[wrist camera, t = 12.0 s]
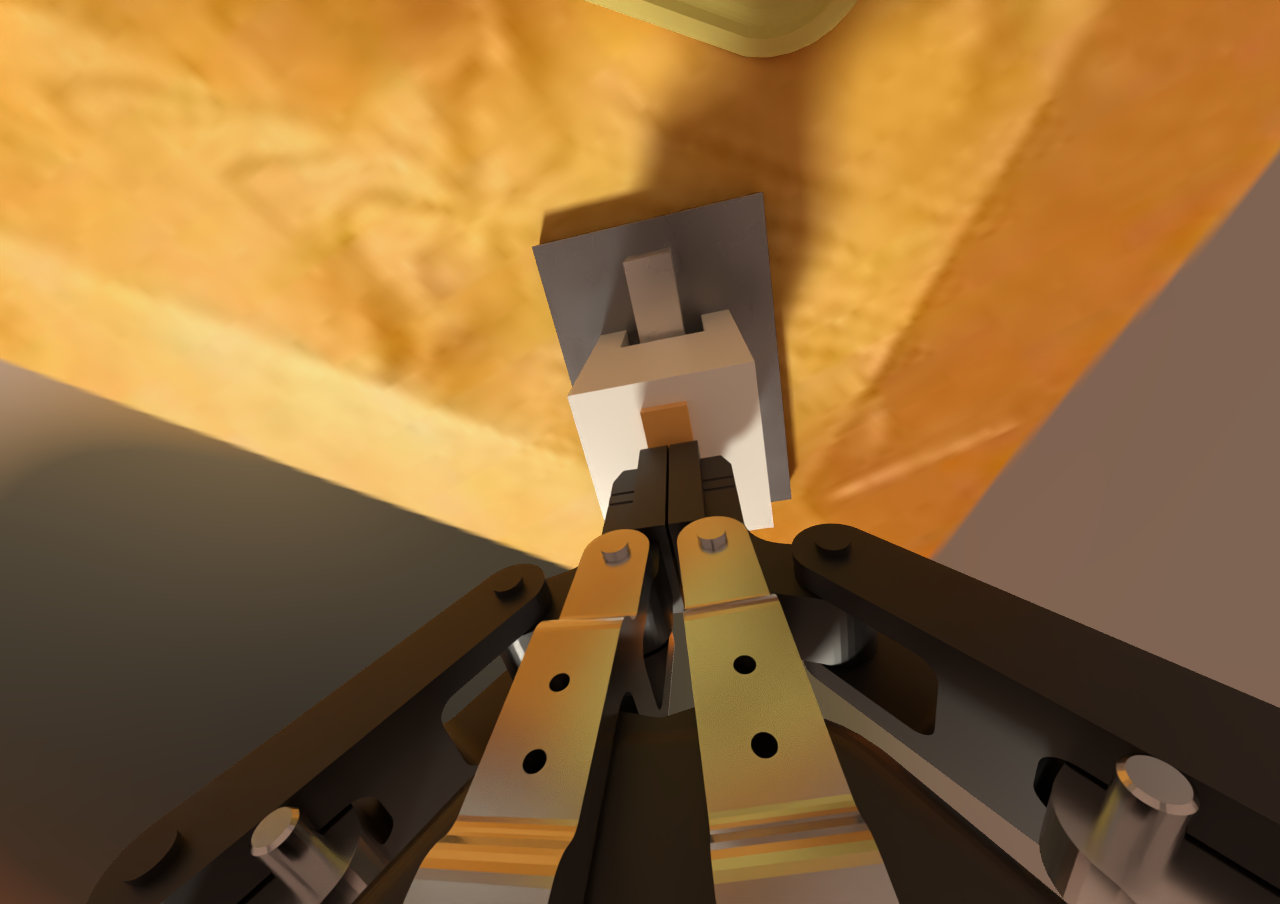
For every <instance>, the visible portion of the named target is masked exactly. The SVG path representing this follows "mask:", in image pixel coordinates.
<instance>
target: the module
mask: <svg viewBox="0 0 1280 904" xmlns="http://www.w3.org/2000/svg"><path fill="white" fill-rule="evenodd" d="M701 318H702V324H703V331H702V332H697V333H692V334H687V335H682V336H677V337H672V338H667V339H662V340H657V341H652V342H647V343H642V344H637V345H632V346H630V343H629V339H628V334H627V330H625V331H620V332H615V333H610V334H605V335H601V336H600V338H599V339H598V341H597V343H596V345H595V347H594V349H593V350H592V352H591V354H590V356H589V358H588V360H587V361H586V363H585V365H584V367H583V369H582V370H581V372H580V374H579V376H578V378H577V380H576V381H575V383H574V385H573V387H572V389H571V390H570V392H569V394H568V396H567V397H568V400H569V404H570V407H571V410H572V414H573V417H574V420H575V424H576V427H577V430H578V434H579V437H580V440H581V444H582V447H583V451H584V454H585V457H586V461H587V464H588V467H589V471H590V474H591V477H592V481H593V484H594V488H595V491H596V494H597V498H598V501H599V504H600V508H601V511H602V514H603V518H604V521H605V518H606V513H607V509H608V506H609V499H610V497H611V490H612V485H613V482H614V481H615V480H616V479H617V477H618V476H619V475H620V474H621V473H622V472H623V471H626V470H632V469H637V467H638V460H639V452H640V450H641V449H647V448H653V447H659V446H665V445H668V447H669V446H670V444H677V443H683V442H689V441H695V440H697V441H698V445H699V450H700V456H701V458H706V457H713V456H719V455H721V456H722V457H724V458H725V459H726V460H727V461H728V462H730V463H731V465H732V469H733V474H734V479H735V483H736V488H737V492H738V497H739V502H740V506H741V511H742V515H743V520H744V524H745V526H746V528H747V529H748V530H756V529H763V528H770V527H774V525H773V516H772V508H771V499H770V490H769V482H768V473H767V464H766V456H765V447H764V438H763V430H762V421H761V412H760V404H759V395H758V386H757V378H756V369H755V361H754V359H753V357H752V355H751V353H750V351H749V349H748V347H747V345H746V343H745V341H744V339H743V337H742V335H741V333H740V331H739V329H738V327H737V325H736V323H735V321H734V319H733V317H732V315H731V313H730V311H729V309H728V310H723V311H718V312H713V313H708V314H703V315H701Z"/></svg>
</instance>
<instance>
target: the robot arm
mask: <svg viewBox="0 0 1280 904" xmlns="http://www.w3.org/2000/svg"><path fill="white" fill-rule="evenodd" d="M685 608H686V609H685ZM680 612H683V613H684V623H685V630H686V639H687V647H688V655H689V663H690V671H691V679H692V688H693V695H694V704H695V707H694V708H691V709H688V710H685V711H682V712H679V713H676V714H673V715H670V716H668V712H669V701H670V690H671V678H672V668H673V655H674V638H673V634H672V628H673V613H680ZM499 655H500V656H501V658H502V660H503V662H504V664H505V666H506V668H507V671H505V672H504V673H503V674H502V675H501V676H500V677H498V678H497V679H496V680H495V681H494V682H493V683H492V684H491V685H490V686H488V687H487V688H486V689H485V690H484V691H483V692H482V693H481V694H479V695H478V696H477V697H476V698H475V699H474V700H473V701H472V702H471V703H469V704H468V705H467V706H466V707H465V708H464V709H463V710H462V711H460V712H459V713H458V714H457V715H456V716H455V717H454V718H452V719H451V720H450V721H448V722H446V723H444V724H442V721H441V715H442V711H443V708H444V706H445V704H446V703H447V701H448V700H449V699H450V697H451V696H452V695H453V694H454V693H456V692H457V691H458V690H459V689H460V688H461V687H463V686H464V685H465V684H466V683H467V682H468V681H470V680H471V679H472V678H473V677H474V676H475V675H477V674H478V673H479V672H480V671H481V670H482V669H484V668H485V667H486V666H487V665H488V664H489V663H491V662H492V661H493V660H494V659H495V658H496V657H497V656H499ZM801 660H803V662H804V665H805V666H806V668H807V670H808V671H809V672H810V673H811V674H812V675H813V676H814V677H815V678H816V679H818V680H819V681H820V682H822V683H823V684H824V685H826V686H827V687H828V688H830V689H831V690H832V691H834V692H835V693H836V694H838V695H839V696H840V697H842V698H843V699H844V700H846V701H847V702H848V703H850V704H851V705H852V706H854V707H855V708H856V709H858V710H859V711H860V712H862V713H863V714H865V715H866V716H867V717H869V718H870V719H871V720H873V721H874V722H875V723H877V724H878V725H879V726H881V727H882V728H883V729H885V730H886V731H887V732H889V733H890V734H891V735H893V736H894V737H895V738H897V739H898V740H899V741H901V742H902V743H904V744H905V745H906V746H907V747H909V748H910V749H911V750H913V751H914V752H915V753H917V754H918V755H919V756H921V757H922V758H923V759H925V760H926V761H927V762H929V763H930V764H931V765H933V766H934V767H935V768H937V769H938V770H939V771H941V772H942V773H943V774H945V775H946V776H948V777H949V778H950V779H952V780H953V781H954V782H956V783H957V784H958V785H960V786H961V787H962V788H964V789H965V790H966V791H968V792H969V793H970V794H972V795H973V796H974V797H976V798H977V799H978V800H980V801H981V802H982V803H984V804H985V805H986V806H988V807H989V808H991V809H992V810H993V811H994V812H996V813H997V814H998V815H1000V816H1001V817H1003V818H1004V819H1005V820H1006V821H1008V822H1009V823H1010V824H1012V825H1013V826H1014V827H1016V828H1017V829H1018V830H1020V831H1021V832H1023V833H1024V834H1025V835H1026V836H1028V837H1029V838H1030V839H1032V840H1033V841H1035V842H1036V843H1038V844H1039V851H1040V854H1041V859H1042V863H1043V865H1044V867H1045V870H1046V872H1047V874H1048V876H1049V878H1050V880H1051V881H1052V883H1053V885H1054V887H1055V888H1056V889H1057V891H1058V892H1059V894H1060V895H1061V896H1062V898H1063V899H1064V900H1065V901H1066V902H1067V903H1066V902H1065V901H1064V900H1063V899H1062V898H1060V897H1059V896H1058V895H1057V894H1056V893H1054V892H1053V891H1052V890H1051V889H1050V888H1048V887H1047V886H1046V885H1045V884H1044V883H1042V882H1041V881H1040V880H1039V879H1038V878H1036V877H1035V876H1034V875H1033V874H1032V873H1030V872H1029V871H1028V870H1027V869H1026V868H1024V867H1023V866H1022V865H1021V864H1019V863H1018V862H1017V861H1016V860H1015V859H1013V858H1012V857H1011V856H1010V855H1009V854H1007V853H1006V852H1005V851H1004V850H1003V849H1001V848H1000V847H999V846H998V845H997V844H995V843H994V842H993V841H992V840H991V839H989V838H988V837H987V836H986V835H985V834H983V833H982V832H981V831H980V830H978V829H977V828H976V827H975V826H974V825H972V824H971V823H970V822H969V821H968V820H966V819H965V818H964V817H963V816H962V815H960V814H959V813H958V812H957V811H956V810H954V809H953V808H952V807H951V806H950V805H948V804H947V803H946V802H945V801H943V800H942V799H941V798H940V797H939V796H938V795H936V794H935V793H934V792H933V791H931V790H930V789H929V788H928V787H927V786H925V785H924V784H923V783H922V782H921V781H919V780H918V779H917V778H916V777H915V776H913V775H912V774H911V773H910V772H908V771H907V770H906V769H905V768H903V766H901V765H900V764H899V763H898V762H897V761H895V760H894V759H893V758H892V757H890V756H889V755H888V754H887V753H885V752H884V751H883V750H882V749H880V748H879V747H877V746H876V745H874V744H873V743H871V742H870V741H868V740H867V739H865V738H864V737H862V736H861V735H859V734H857V733H855V732H853V731H851V730H849V729H847V728H845V727H844V726H841V725H839V724H837V723H834V722H832V721H829V720H827V719H823V717H822V714H821V712H820V709H819V706H818V704H817V701H816V698H815V695H814V693H813V690H812V687H811V685H810V682H809V679H808V677H807V674H806V671H805V669H804V666H803V663H802V661H801ZM87 904H1280V708H1278V707H1276V706H1274V705H1272V704H1269V703H1267V702H1264V701H1262V700H1260V699H1257V698H1255V697H1253V696H1250V695H1248V694H1246V693H1243V692H1241V691H1239V690H1236V689H1234V688H1231V687H1229V686H1227V685H1224V684H1222V683H1220V682H1217V681H1215V680H1212V679H1210V678H1208V677H1206V676H1203V675H1201V674H1198V673H1196V672H1194V671H1191V670H1189V669H1187V668H1184V667H1182V666H1180V665H1177V664H1175V663H1173V662H1170V661H1168V660H1166V659H1163V658H1161V657H1159V656H1156V655H1154V654H1151V653H1149V652H1147V651H1144V650H1142V649H1140V648H1137V647H1135V646H1133V645H1130V644H1128V643H1126V642H1123V641H1121V640H1118V639H1116V638H1114V637H1111V636H1109V635H1107V634H1104V633H1102V632H1099V631H1097V630H1095V629H1093V628H1090V627H1088V626H1085V625H1083V624H1081V623H1078V622H1076V621H1074V620H1071V619H1069V618H1067V617H1064V616H1062V615H1059V614H1057V613H1055V612H1052V611H1050V610H1048V609H1045V608H1043V607H1040V606H1038V605H1036V604H1034V603H1031V602H1029V601H1027V600H1024V599H1022V598H1019V597H1017V596H1015V595H1012V594H1010V593H1008V592H1005V591H1003V590H1001V589H998V588H996V587H993V586H991V585H989V584H986V583H984V582H982V581H979V580H977V579H975V578H972V577H970V576H968V575H965V574H963V573H961V572H958V571H956V570H954V569H951V568H949V567H946V566H944V565H942V564H939V563H937V562H935V561H932V560H930V559H928V558H925V557H923V556H921V555H918V554H916V553H914V552H911V551H909V550H906V549H904V548H902V547H899V546H897V545H895V544H892V543H890V542H888V541H885V540H883V539H881V538H878V537H876V536H873V535H871V534H869V533H866V532H864V531H862V530H859V529H857V528H854V527H851V526H847V525H842V524H821V525H816V526H812V527H809V528H807V529H805V530H803V531H802V532H800V533H799V534H798V535H797V536H796V537H795V538H794V540H793V542H792V544H782V543H774V542H769V541H765V540H763V539H760V538H758V537H756V536H754V535H753V534H752V533H750V531H749V530H748V529H747V528H746V526H745V524H744V520H743V515H742V511H741V506H740V502H739V497H738V492H737V488H736V483H735V479H734V474H733V469H732V465H731V463H730V462H728V461H727V460H726V459H725V458H724V457H722V456H721V455H719V456H713V457H706V458H701V456H700V450H699V445H698V441H697V440H695V441H689V442H683V443H677V444H670V446H669V447H668V445H665V446H659V447H653V448H647V449H641V450H640V452H639V460H638V467H637V469H632V470H626V471H623V472H622V473H621V474H620V475H619V476H618V477H617V479H616V480H615V481H614V482H613V485H612V490H611V497H610V499H609V506H608V509H607V513H606V518H605V523H604V527H603V532H602V535H601V536H599V537H597V538H596V539H594V540H593V541H592V542H591V543H590V544H589V545H588V546H587V547H586V548H585V550H584V552H583V555H582V557H581V560H580V563H579V566H578V567H576V568H574V569H572V570H570V571H567V572H564V573H562V574H559V575H556V576H553V577H551V578H548V579H546V578H545V575H544V573H543V571H542V570H541V568H539V567H538V566H535V565H532V564H518V565H513V566H510V567H507V568H505V569H502V570H500V571H498V572H496V573H495V574H494V575H492V576H490V577H489V578H488V579H486V580H485V581H484V582H482V583H481V584H480V585H478V586H477V587H476V588H474V589H473V590H471V591H470V592H469V593H468V594H466V595H465V596H464V597H462V598H460V599H459V600H458V601H456V602H455V603H454V604H452V605H451V606H450V607H448V608H447V609H445V610H444V611H443V612H441V613H440V614H439V615H437V616H436V617H435V618H433V619H432V620H430V621H429V622H428V623H426V624H425V625H424V626H423V627H421V628H420V629H418V630H417V631H416V632H414V633H413V634H411V635H410V636H409V637H407V638H406V639H405V640H404V641H402V642H401V643H399V644H398V645H396V646H395V647H394V648H392V649H391V650H390V651H388V652H387V653H386V654H384V655H383V656H382V657H380V658H379V659H377V660H376V661H375V662H373V663H372V664H371V665H369V666H368V667H366V668H365V669H364V670H362V671H361V672H360V673H358V674H357V675H356V676H354V677H353V678H352V679H350V680H349V681H347V682H346V683H345V684H343V685H342V686H341V687H339V688H338V689H337V690H335V691H334V692H332V693H331V694H330V695H328V696H327V697H326V698H324V699H323V700H322V701H320V702H319V703H317V704H316V705H315V706H313V707H312V708H311V709H309V710H308V711H307V712H305V713H304V714H303V715H301V716H300V717H298V718H297V719H296V720H295V721H293V722H292V723H291V724H289V725H288V726H286V727H285V728H284V729H282V730H281V731H279V732H278V733H277V734H275V735H274V736H273V737H271V738H270V739H268V740H267V741H266V742H264V743H263V744H262V745H260V746H259V747H258V748H256V749H255V750H254V751H252V752H251V753H249V754H248V755H247V756H245V757H244V758H243V759H241V760H240V761H239V762H237V763H236V764H234V765H233V766H232V767H230V768H229V769H228V770H226V771H225V772H224V773H222V774H221V775H219V776H218V777H217V778H215V779H214V780H213V781H211V782H210V783H209V784H207V785H206V786H205V787H203V788H202V789H200V790H199V791H198V792H196V793H195V794H194V795H192V796H191V797H190V798H188V799H187V800H185V801H184V802H183V803H181V804H180V805H179V806H177V807H176V808H174V809H173V810H172V811H170V812H169V813H168V814H166V815H165V816H164V817H162V818H161V819H160V820H158V821H157V822H155V823H154V824H153V825H151V826H150V827H149V828H148V829H147V830H145V831H144V832H143V833H141V834H140V835H139V836H138V837H137V838H136V839H135V840H134V841H132V842H131V843H130V844H129V845H128V846H127V847H126V848H125V849H124V850H123V851H122V852H121V853H120V854H119V856H118V857H117V858H116V859H115V860H114V861H113V862H112V864H111V865H110V866H109V867H108V869H107V870H106V871H105V872H104V874H103V875H102V877H101V878H100V880H99V881H98V883H97V884H96V886H95V888H94V889H93V892H92V893H91V895H90V897H89V900H88V902H87Z"/></svg>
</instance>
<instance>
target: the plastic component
mask: <svg viewBox="0 0 1280 904" xmlns="http://www.w3.org/2000/svg"><path fill="white" fill-rule="evenodd" d="M585 1H588V2H591V3H593V4H596V5H599V6H602V7H605V8H608V9H611V10H613V11H616V12H619V13H622V14H625V15H628V16H631V17H633V18H636V19H639V20H642V21H645V22H648V23H650V24H653V25H656V26H659V27H662V28H665V29H668V30H670V31H673V32H676V33H679V34H682V35H685V36H688V37H690V38H693V39H696V40H699V41H702V42H705V43H708V44H710V45H713V46H716V47H719V48H722V49H725V50H728V51H730V52H733V53H736V54H739V55H742V56H745V57H774V56H779V55H784V54H788V53H792V52H795V51H797V50H799V49H801V48H803V47H806V46H808V45H810V44H812V43H814V42H816V41H817V40H818V39H820V38H821V37H822V36H824V35H825V34H826V33H828V32H829V31H831V30H832V29H833V28H835V27H836V26H837V25H838V23H839V22H840V21H841V20H842V19H843V18H844V17H845V16H846V15H847V13H848V12H849V11H850V10H851V9H852V8H853V7H854V5H855V4H856V2H857V0H585Z"/></svg>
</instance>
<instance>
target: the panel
mask: <svg viewBox="0 0 1280 904" xmlns="http://www.w3.org/2000/svg"><path fill="white" fill-rule="evenodd" d="M532 249H533V253H534V256H535V259H536V263H537V266H538V270H539V273H540V277H541V280H542V284H543V287H544V290H545V294H546V297H547V301H548V304H549V308H550V311H551V315H552V318H553V321H554V325H555V328H556V332H557V335H558V339H559V342H560V346H561V349H562V352H563V356H564V359H565V363H566V366H567V370H568V373H569V377H570V380H571V383H572V387H573V385H574V383H575V381H576V380H577V378H578V376H579V374H580V372H581V370H582V369H583V367H584V365H585V363H586V361H587V360H588V358H589V356H590V354H591V352H592V350H593V349H594V347H595V345H596V343H597V341H598V339H599V338H600V336H601V335H605V334H610V333H615V332H620V331H625V330H627V334H628V339H629V343H630V346H632V345H637V344H642V343H647V342H652V341H657V340H662V339H667V338H672V337H677V336H682V335H687V334H692V333H697V332H702V331H703V324H702V318H701V315H703V314H708V313H713V312H718V311H723V310H728V309H729V311H730V313H731V315H732V317H733V319H734V321H735V323H736V325H737V327H738V329H739V331H740V333H741V335H742V337H743V339H744V341H745V343H746V345H747V347H748V349H749V351H750V353H751V355H752V357H753V359H754V361H755V369H756V378H757V386H758V395H759V404H760V412H761V421H762V430H763V438H764V447H765V456H766V464H767V473H768V482H769V490H770V499H771V502H774V501H781V500H788V499H791V489H790V478H789V467H788V457H787V446H786V435H785V424H784V414H783V403H782V392H781V382H780V371H779V360H778V350H777V339H776V328H775V317H774V307H773V296H772V285H771V275H770V264H769V253H768V242H767V232H766V221H765V210H764V200H763V192H758V193H754V194H750V195H746V196H741V197H737V198H733V199H729V200H725V201H720V202H716V203H712V204H708V205H704V206H699V207H695V208H691V209H687V210H683V211H678V212H674V213H670V214H666V215H662V216H657V217H653V218H649V219H645V220H640V221H636V222H632V223H628V224H624V225H619V226H615V227H611V228H607V229H603V230H598V231H594V232H590V233H586V234H582V235H577V236H573V237H569V238H565V239H561V240H556V241H552V242H548V243H544V244H540V245H536V246H533V247H532Z"/></svg>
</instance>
